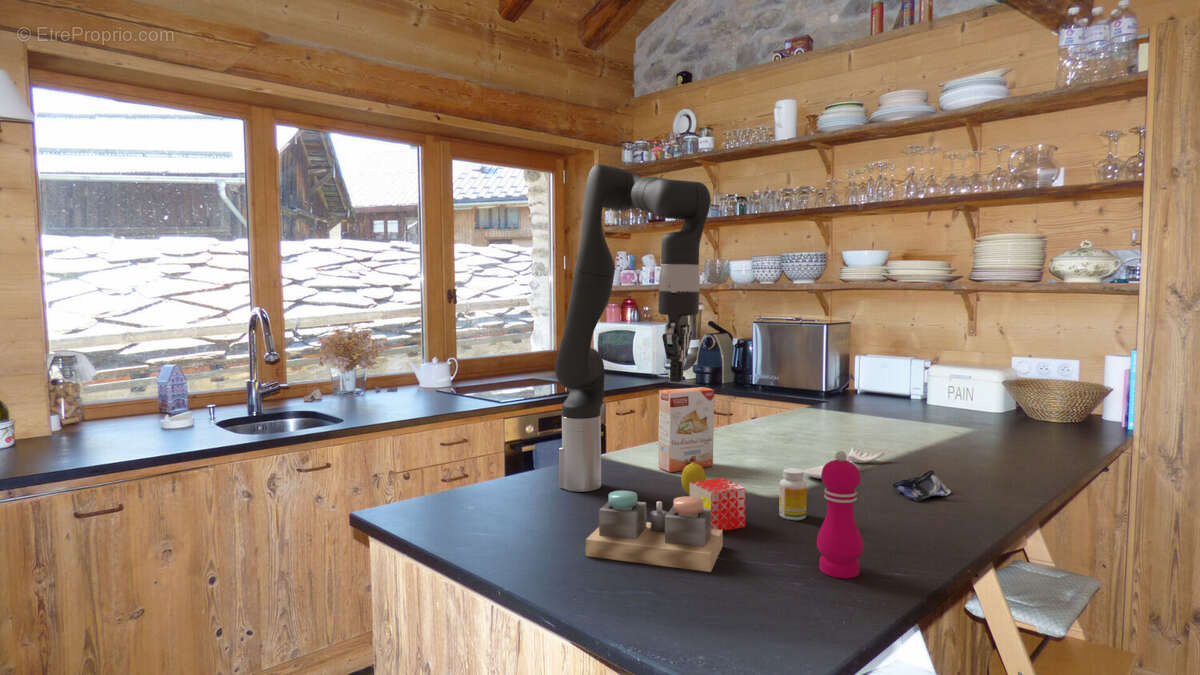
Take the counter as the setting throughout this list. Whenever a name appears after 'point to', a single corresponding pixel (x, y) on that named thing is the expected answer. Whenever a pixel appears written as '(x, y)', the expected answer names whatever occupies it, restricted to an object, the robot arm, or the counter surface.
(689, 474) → the lemon
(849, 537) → the pepper mill
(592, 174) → the robot arm
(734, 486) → the red patterned cube box
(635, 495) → the knob left
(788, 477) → the supplement bottle
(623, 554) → the mount
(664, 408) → the cracker box
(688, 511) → the knob right
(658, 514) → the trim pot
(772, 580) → the counter surface
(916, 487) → the snack package
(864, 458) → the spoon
